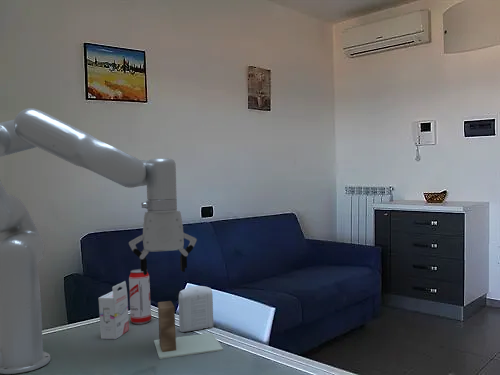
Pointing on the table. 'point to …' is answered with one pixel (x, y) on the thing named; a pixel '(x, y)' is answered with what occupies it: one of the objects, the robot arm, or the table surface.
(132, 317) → the red striped can
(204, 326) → the photo printer
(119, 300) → the ink cartridge box
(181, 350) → the board
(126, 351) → the table surface
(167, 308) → the slab
